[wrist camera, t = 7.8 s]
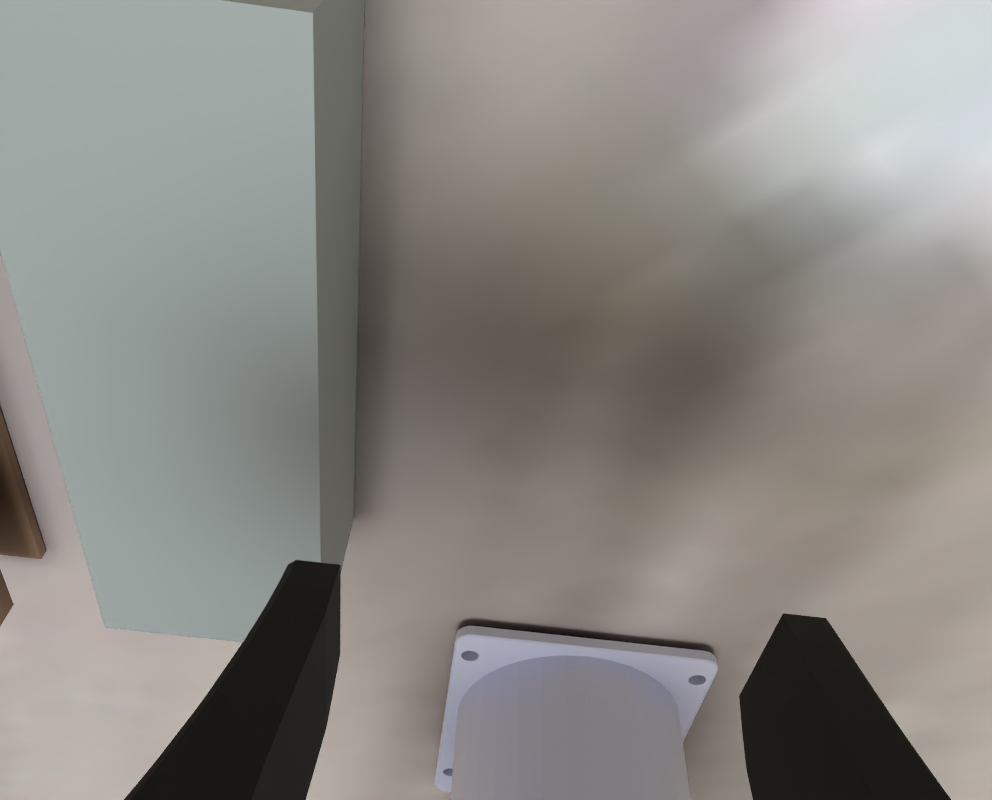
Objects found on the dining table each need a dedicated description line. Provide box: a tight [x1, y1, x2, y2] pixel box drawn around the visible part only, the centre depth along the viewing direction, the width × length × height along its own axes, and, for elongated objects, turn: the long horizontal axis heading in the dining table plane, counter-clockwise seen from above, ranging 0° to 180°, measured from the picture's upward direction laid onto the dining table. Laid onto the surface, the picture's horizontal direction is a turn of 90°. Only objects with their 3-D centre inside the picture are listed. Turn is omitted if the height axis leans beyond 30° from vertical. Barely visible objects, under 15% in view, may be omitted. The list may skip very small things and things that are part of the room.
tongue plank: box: [0, 0, 365, 642], centre depth 17 cm, size 14×6×4 cm, turn 173°
